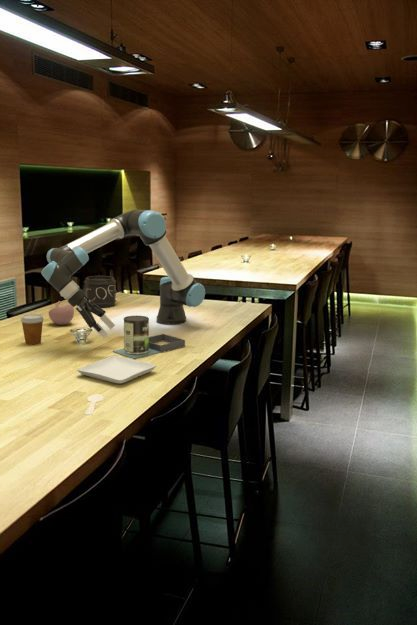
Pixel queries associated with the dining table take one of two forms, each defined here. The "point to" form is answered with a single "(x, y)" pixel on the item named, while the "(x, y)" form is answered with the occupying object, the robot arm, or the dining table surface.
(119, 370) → the salad plate
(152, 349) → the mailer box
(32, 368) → the dining table surface
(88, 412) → the spoon
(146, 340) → the coffee can
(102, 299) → the coffee canister
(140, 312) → the dining table surface
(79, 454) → the dining table surface
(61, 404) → the dining table surface
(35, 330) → the disposable coffee cup
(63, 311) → the pink apple
